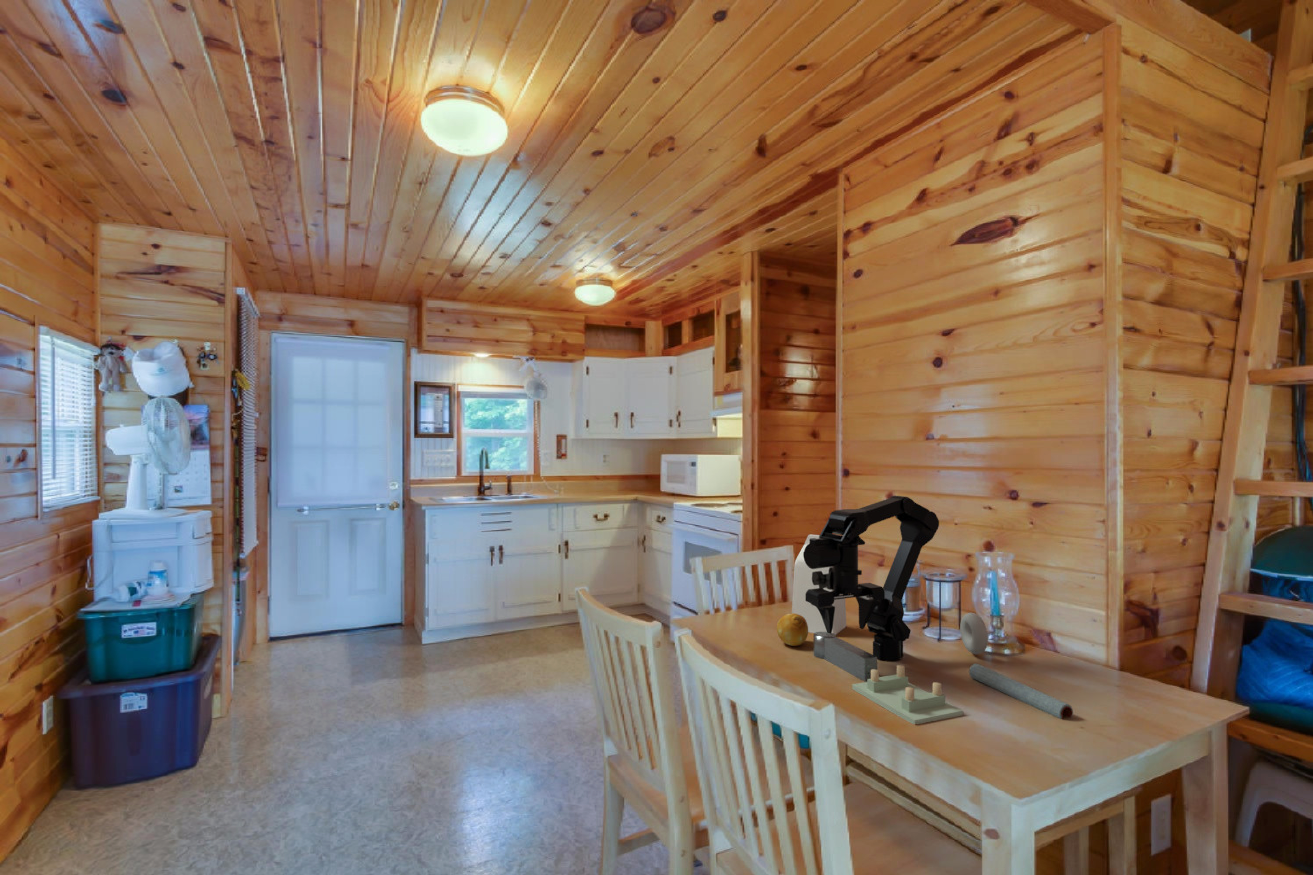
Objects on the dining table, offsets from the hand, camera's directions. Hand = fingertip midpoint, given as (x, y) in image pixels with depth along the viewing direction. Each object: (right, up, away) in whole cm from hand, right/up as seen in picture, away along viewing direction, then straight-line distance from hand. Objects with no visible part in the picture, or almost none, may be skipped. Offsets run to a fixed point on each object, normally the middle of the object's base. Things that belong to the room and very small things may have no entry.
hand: (845, 630), depth 146 cm
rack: (+6, -8, -20) cm, 22 cm away
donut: (+35, -9, +9) cm, 37 cm away
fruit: (-9, -9, +15) cm, 20 cm away
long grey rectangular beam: (0, -8, +1) cm, 8 cm away
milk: (+1, -9, +30) cm, 31 cm away
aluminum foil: (+32, -9, -16) cm, 37 cm away
